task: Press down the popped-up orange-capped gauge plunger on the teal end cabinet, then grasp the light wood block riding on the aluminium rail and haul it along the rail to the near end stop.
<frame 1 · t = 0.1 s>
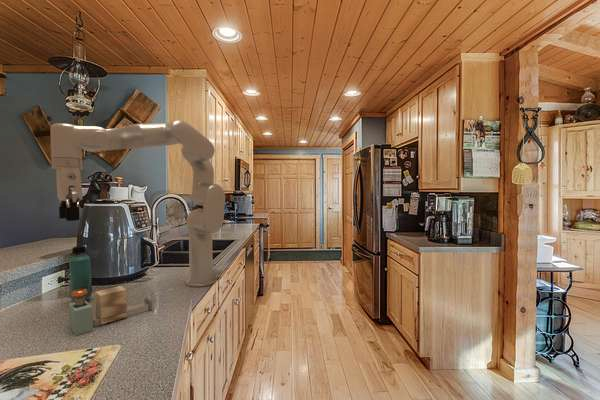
hand: (69, 219, 95), 31 cm above the countertop, fingers open, 9 cm apart
cabinet: (81, 328, 88), on the countertop
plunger: (79, 301, 87), point 8 cm above the countertop, slide at 0.0 cm
beverage bottle: (81, 301, 109), on the countertop
rail: (121, 316, 96), on the countertop
light wood block: (111, 304, 93), point 5 cm above the countertop, slide at 7.0 cm
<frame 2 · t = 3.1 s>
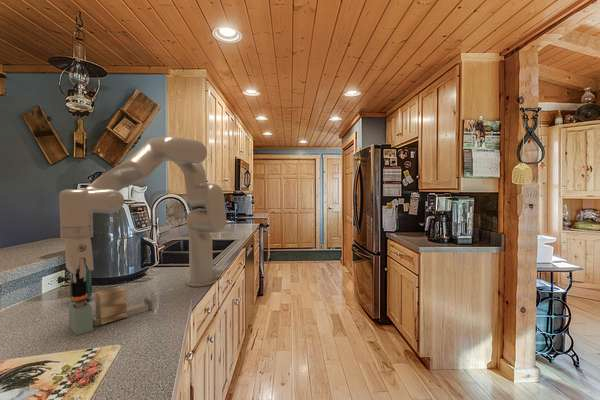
hand: (78, 295, 87), 10 cm above the countertop, fingers closed
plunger: (80, 305, 88), point 7 cm above the countertop, slide at 1.3 cm, touching gripper
everything else where it was.
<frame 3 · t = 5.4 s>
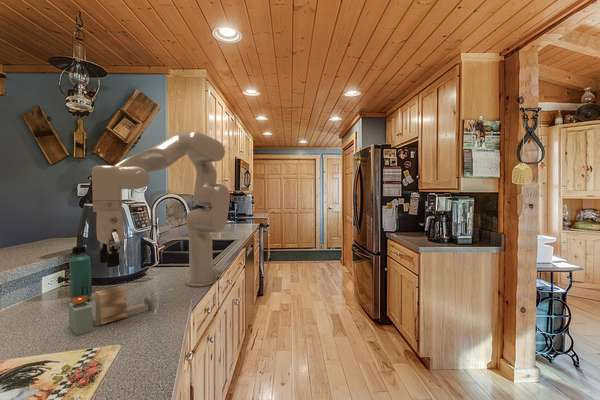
hand: (109, 263, 93), 18 cm above the countertop, fingers open, 6 cm apart
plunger: (80, 308, 88), point 6 cm above the countertop, slide at 2.0 cm
everything else where it was.
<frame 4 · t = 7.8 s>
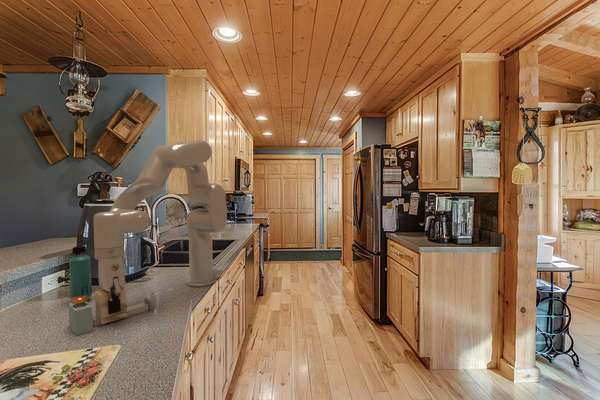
hand: (111, 309, 94), 3 cm above the countertop, fingers closed on light wood block, 5 cm apart
light wood block: (111, 304, 93), point 5 cm above the countertop, slide at 7.0 cm, touching gripper
everything else where it was.
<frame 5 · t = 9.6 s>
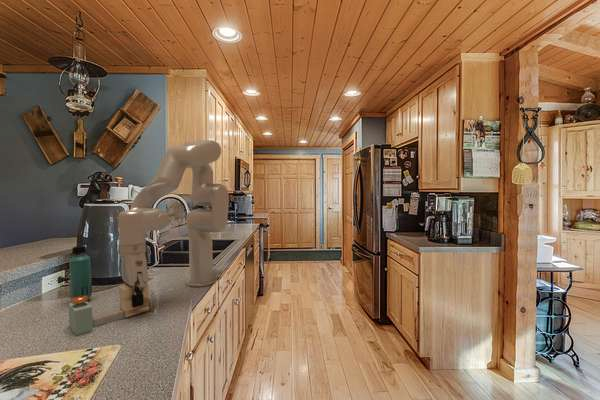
hand: (134, 303, 99), 3 cm above the countertop, fingers closed on light wood block, 5 cm apart
light wood block: (134, 298, 98), point 5 cm above the countertop, slide at 0.3 cm, touching gripper
everything else where it was.
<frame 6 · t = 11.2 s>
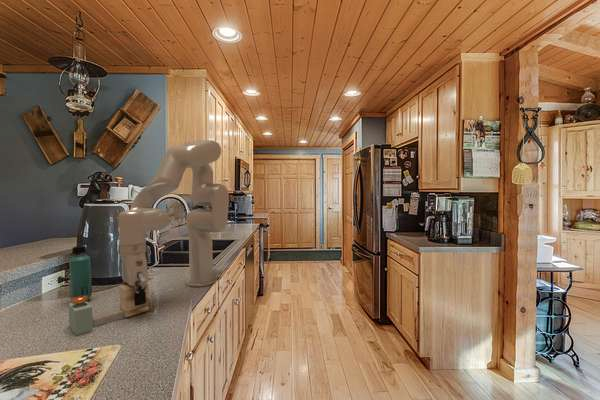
hand: (134, 300, 99), 4 cm above the countertop, fingers open, 9 cm apart
light wood block: (134, 298, 98), point 5 cm above the countertop, slide at 0.3 cm
everything else where it was.
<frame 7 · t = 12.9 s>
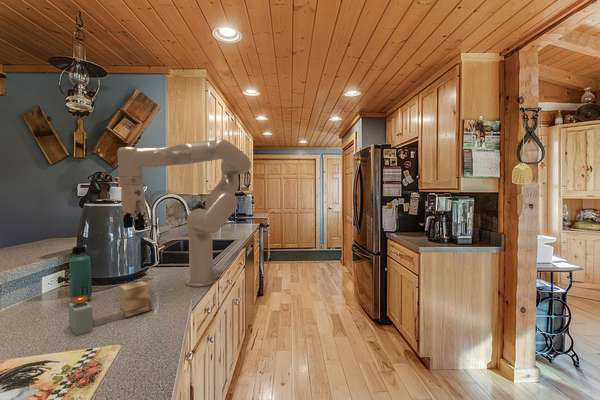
hand: (134, 228, 110), 26 cm above the countertop, fingers open, 9 cm apart
nothing on the countertop moved.
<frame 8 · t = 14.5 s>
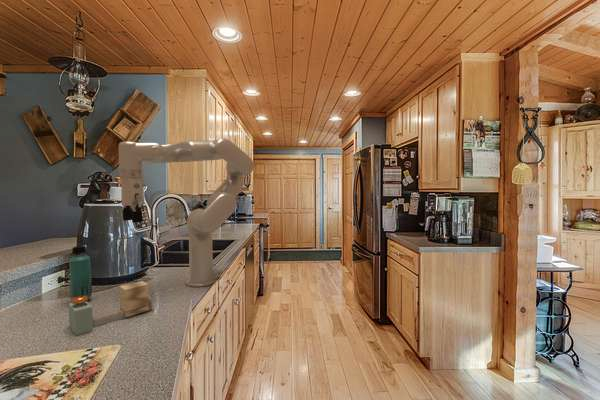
hand: (132, 221, 113), 28 cm above the countertop, fingers open, 9 cm apart
nothing on the countertop moved.
at the end: light wood block slide at 0.3 cm; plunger slide at 2.0 cm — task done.
